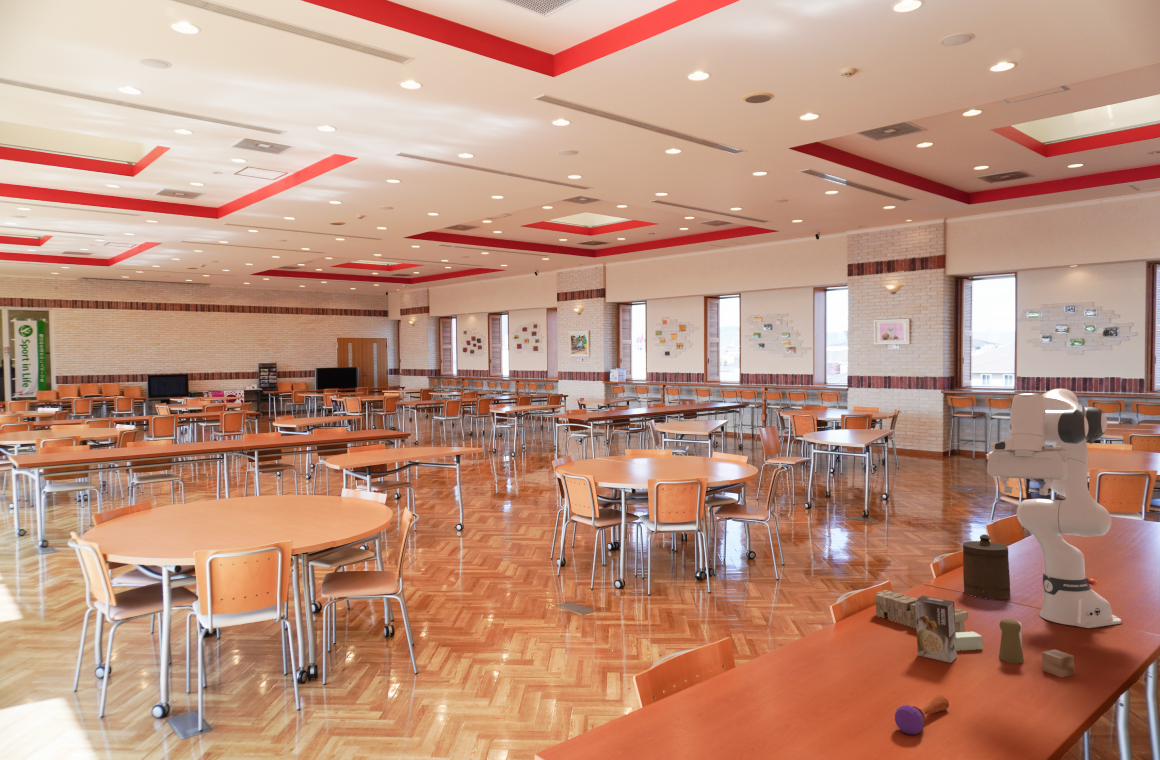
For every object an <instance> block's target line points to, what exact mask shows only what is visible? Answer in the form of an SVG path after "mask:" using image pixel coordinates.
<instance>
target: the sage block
mask: <svg viewBox="0 0 1160 760" xmlns="http://www.w3.org/2000/svg"><path fill="white" fill-rule="evenodd" d="M983 647H984V645H983V635H981V634H980V633H978V632H976V631H965V632H956V652H958V651H959V652H960V650H961V651H976V649H977V650H983Z"/></svg>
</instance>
